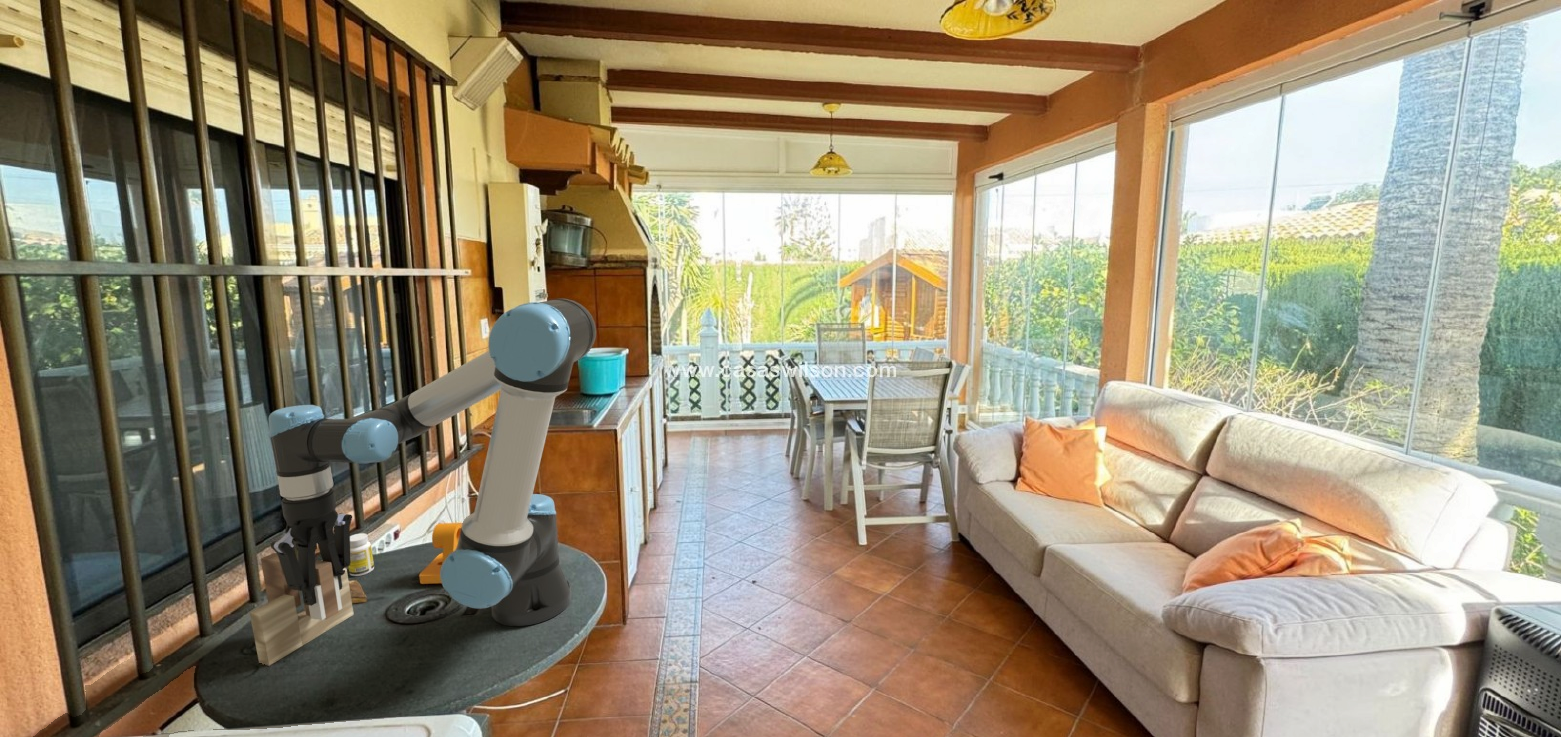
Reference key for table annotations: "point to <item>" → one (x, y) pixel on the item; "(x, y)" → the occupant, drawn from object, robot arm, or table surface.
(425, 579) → the bracket
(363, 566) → the supplement bottle
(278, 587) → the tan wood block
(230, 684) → the table surface
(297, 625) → the interlocking wood puzzle
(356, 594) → the brown flat piece
